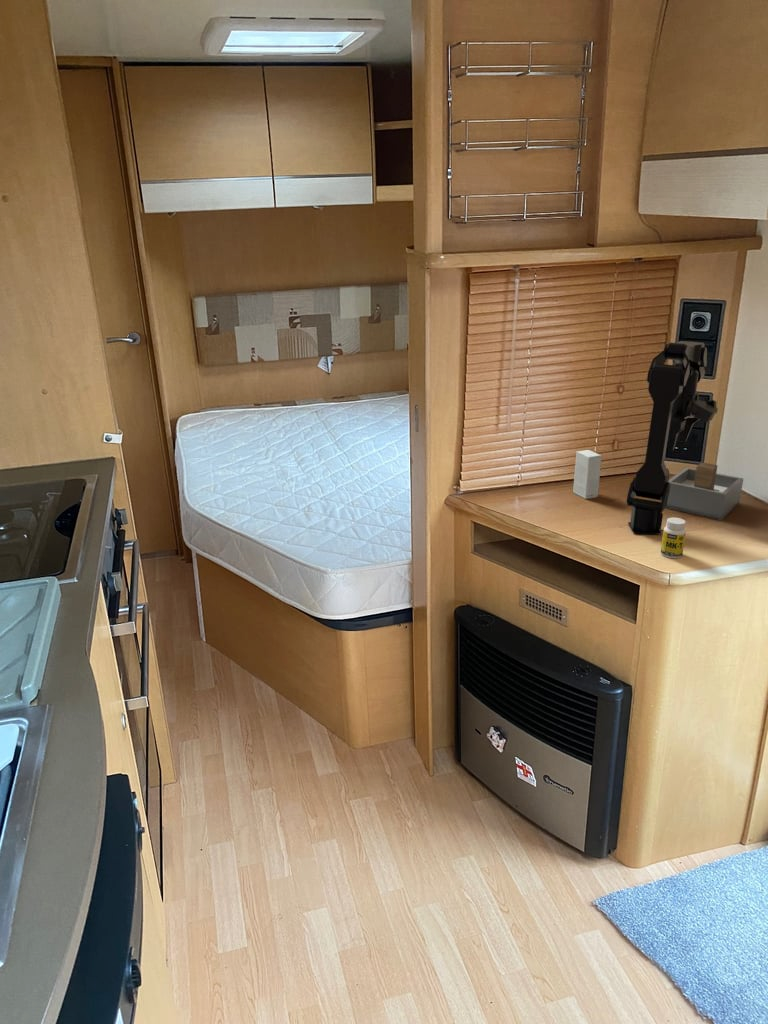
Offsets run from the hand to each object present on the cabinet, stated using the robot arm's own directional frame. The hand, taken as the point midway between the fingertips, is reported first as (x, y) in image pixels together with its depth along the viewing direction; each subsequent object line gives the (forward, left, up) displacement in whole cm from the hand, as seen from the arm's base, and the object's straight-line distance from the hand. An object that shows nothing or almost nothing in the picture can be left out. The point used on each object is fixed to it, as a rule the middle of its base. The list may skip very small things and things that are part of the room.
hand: (677, 446), depth 210 cm
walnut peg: (+5, -10, -12) cm, 16 cm away
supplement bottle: (-11, -41, -13) cm, 45 cm away
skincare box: (-24, -3, -13) cm, 28 cm away
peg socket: (+5, -10, -13) cm, 17 cm away
